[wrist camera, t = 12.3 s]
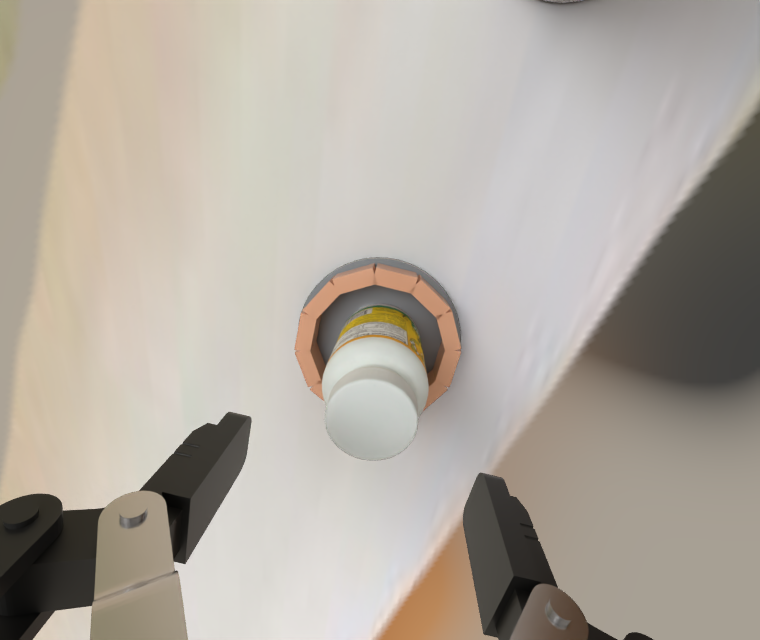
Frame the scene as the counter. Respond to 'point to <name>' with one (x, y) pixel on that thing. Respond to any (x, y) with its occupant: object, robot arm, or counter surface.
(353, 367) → the supplement bottle
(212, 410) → the counter surface
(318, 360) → the ring tray
